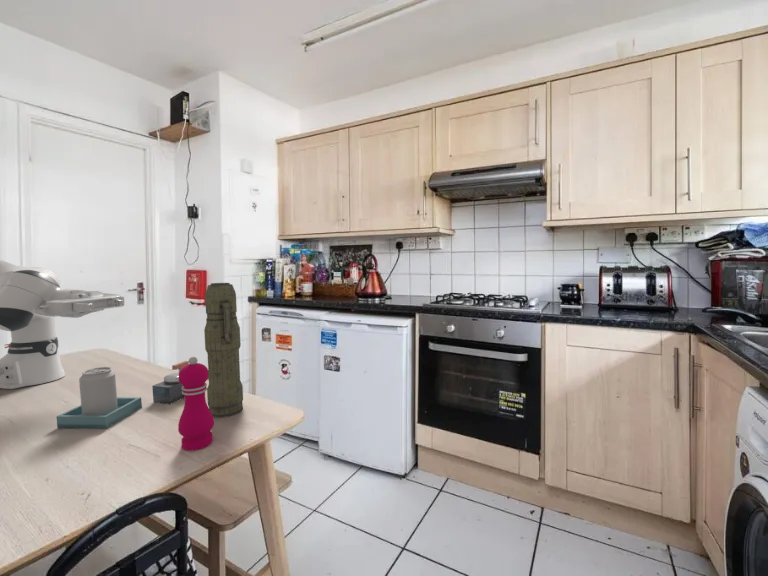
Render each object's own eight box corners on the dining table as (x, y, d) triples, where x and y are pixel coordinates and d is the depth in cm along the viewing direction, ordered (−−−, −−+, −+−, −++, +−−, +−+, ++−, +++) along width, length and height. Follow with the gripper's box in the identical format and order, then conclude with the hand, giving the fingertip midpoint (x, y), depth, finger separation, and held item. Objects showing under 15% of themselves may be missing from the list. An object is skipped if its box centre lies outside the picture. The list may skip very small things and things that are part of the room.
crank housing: (152, 402, 108) (149, 368, 107) (184, 388, 119) (182, 357, 118) (171, 404, 106) (169, 369, 105) (202, 389, 117) (200, 358, 117)
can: (100, 421, 93) (96, 374, 92) (74, 419, 94) (70, 373, 93) (125, 409, 101) (122, 365, 100) (100, 407, 102) (97, 365, 101)
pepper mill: (191, 455, 79) (186, 363, 77) (172, 446, 82) (167, 358, 81) (221, 441, 85) (217, 355, 83) (203, 433, 88) (198, 351, 87)
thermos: (233, 400, 109) (228, 281, 106) (251, 412, 100) (245, 283, 97) (201, 409, 103) (194, 283, 100) (217, 422, 94) (210, 285, 91)
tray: (57, 428, 92) (56, 416, 92) (98, 407, 104) (97, 397, 104) (106, 428, 91) (105, 416, 91) (141, 407, 104) (141, 397, 104)
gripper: (33, 296, 106) (69, 298, 102) (104, 290, 126) (136, 291, 122) (35, 318, 106) (70, 320, 103) (105, 309, 126) (137, 310, 122)
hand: (107, 304), depth 112 cm, fingers open, 8 cm apart
